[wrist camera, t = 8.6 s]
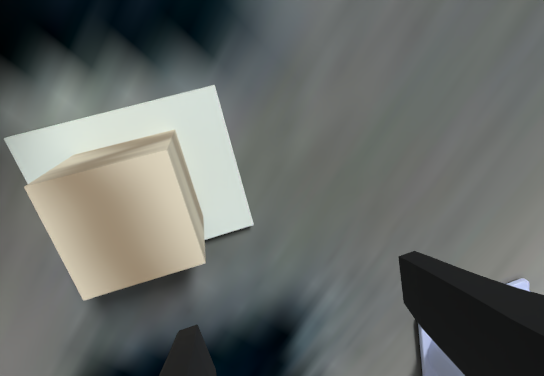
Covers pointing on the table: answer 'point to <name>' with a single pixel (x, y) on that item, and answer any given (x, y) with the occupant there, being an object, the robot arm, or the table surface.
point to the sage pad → (145, 122)
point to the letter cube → (122, 214)
